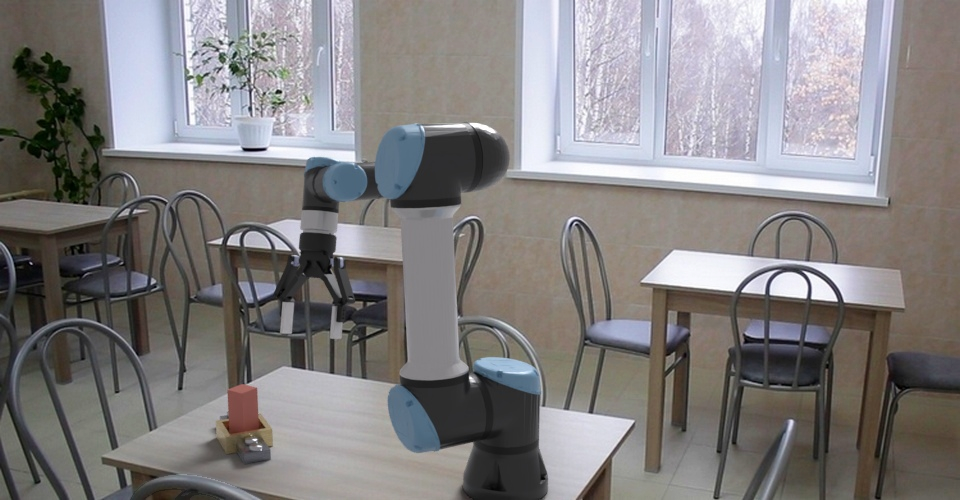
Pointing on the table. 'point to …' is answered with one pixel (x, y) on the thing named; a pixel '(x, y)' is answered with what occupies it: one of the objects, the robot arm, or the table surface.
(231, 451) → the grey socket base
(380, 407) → the table surface
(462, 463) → the table surface
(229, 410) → the link pin
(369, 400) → the table surface
